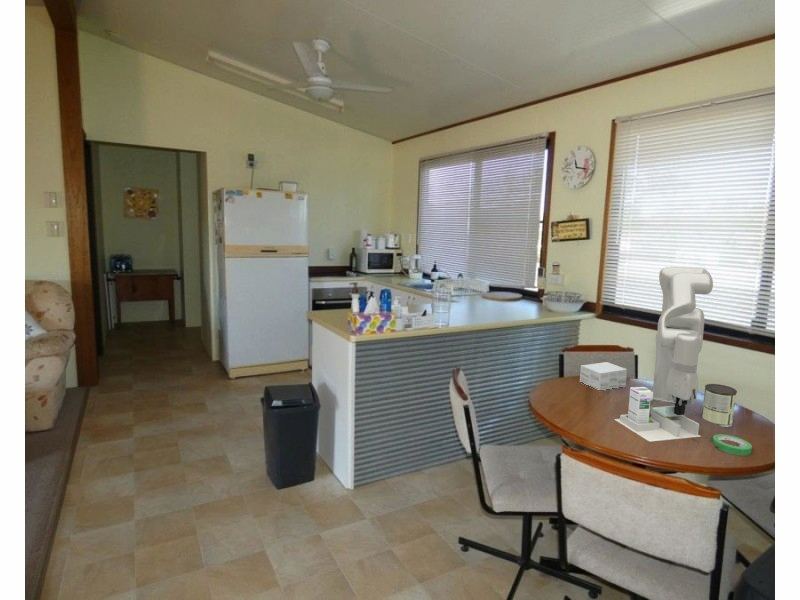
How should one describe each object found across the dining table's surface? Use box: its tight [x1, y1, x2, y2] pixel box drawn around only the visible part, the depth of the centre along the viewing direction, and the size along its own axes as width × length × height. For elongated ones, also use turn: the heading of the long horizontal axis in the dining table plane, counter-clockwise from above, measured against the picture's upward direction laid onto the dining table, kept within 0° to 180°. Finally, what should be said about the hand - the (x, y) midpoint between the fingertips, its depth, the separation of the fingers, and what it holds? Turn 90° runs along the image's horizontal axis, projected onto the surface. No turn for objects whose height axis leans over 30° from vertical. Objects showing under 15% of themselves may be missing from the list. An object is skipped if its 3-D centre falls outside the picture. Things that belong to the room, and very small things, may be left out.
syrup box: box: [627, 386, 654, 424], centre depth 171 cm, size 6×6×14 cm
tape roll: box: [711, 433, 753, 456], centre depth 157 cm, size 11×11×3 cm
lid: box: [652, 404, 684, 417], centre depth 172 cm, size 9×7×4 cm
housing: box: [613, 411, 702, 442], centre depth 170 cm, size 22×19×6 cm
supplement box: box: [579, 361, 628, 391], centre depth 219 cm, size 17×13×9 cm
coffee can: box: [701, 383, 738, 428], centre depth 177 cm, size 10×10×14 cm
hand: (679, 414), depth 167 cm, fingers closed
